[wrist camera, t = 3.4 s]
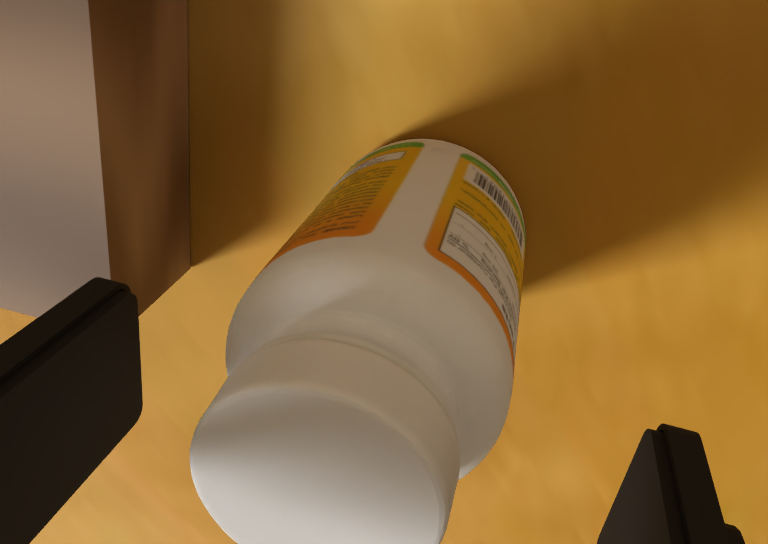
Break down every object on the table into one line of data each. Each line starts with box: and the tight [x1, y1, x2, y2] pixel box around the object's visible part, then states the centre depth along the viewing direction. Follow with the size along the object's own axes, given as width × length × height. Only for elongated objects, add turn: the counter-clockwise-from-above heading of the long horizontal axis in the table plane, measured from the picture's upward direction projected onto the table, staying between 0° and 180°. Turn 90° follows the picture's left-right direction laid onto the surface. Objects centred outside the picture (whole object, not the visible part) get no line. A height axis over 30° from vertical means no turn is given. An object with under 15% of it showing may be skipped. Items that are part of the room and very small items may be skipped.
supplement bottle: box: [190, 139, 526, 544], centre depth 14 cm, size 5×5×10 cm
